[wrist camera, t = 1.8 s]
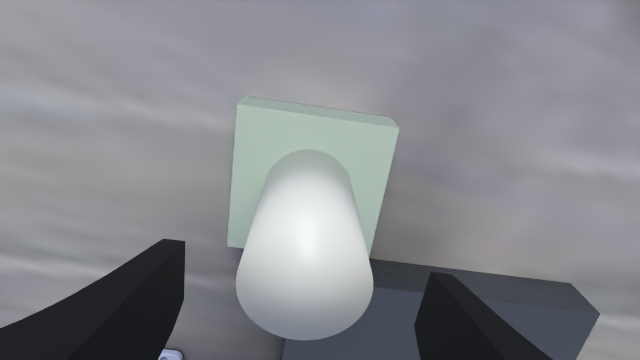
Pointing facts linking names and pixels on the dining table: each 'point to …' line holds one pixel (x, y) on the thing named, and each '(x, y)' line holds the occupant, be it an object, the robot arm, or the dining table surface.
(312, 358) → the hole plate
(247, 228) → the pale green block
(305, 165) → the barrel peg
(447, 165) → the dining table surface
